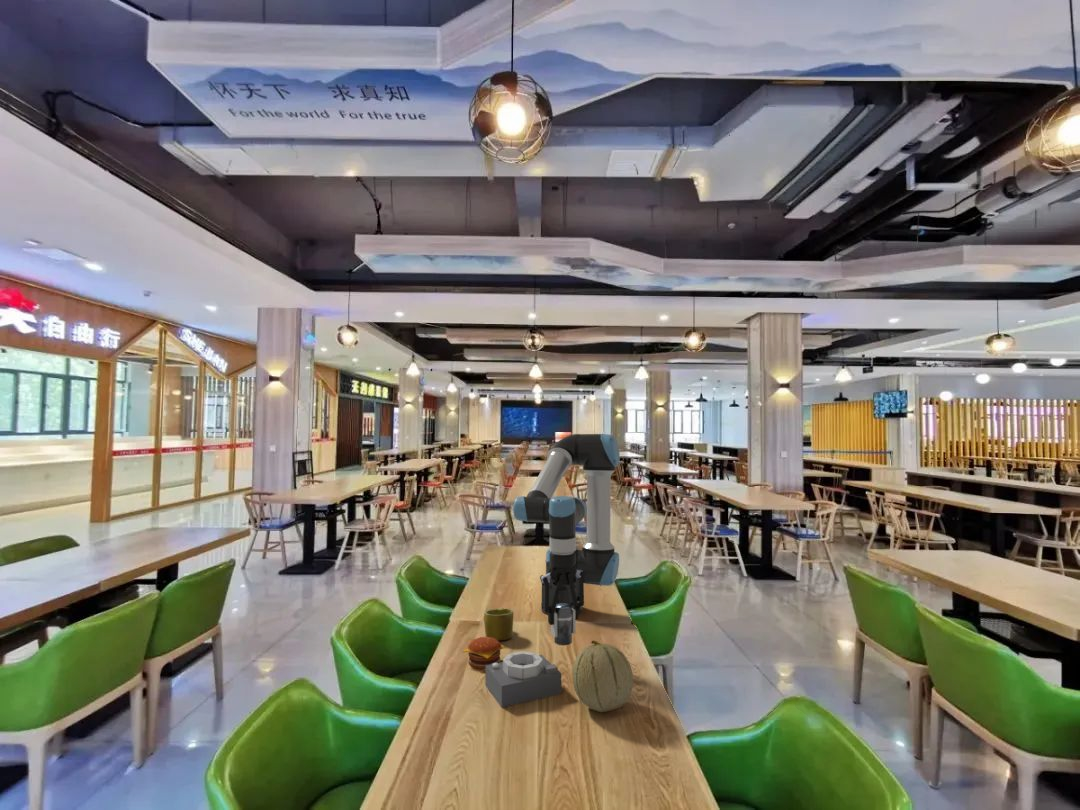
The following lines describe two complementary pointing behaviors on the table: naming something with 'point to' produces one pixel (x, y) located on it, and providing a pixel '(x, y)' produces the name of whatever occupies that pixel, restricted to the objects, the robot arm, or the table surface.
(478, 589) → the table surface
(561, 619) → the lens
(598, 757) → the table surface
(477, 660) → the hamburger
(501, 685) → the camera body
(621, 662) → the cantaloupe
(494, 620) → the mug
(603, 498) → the robot arm
